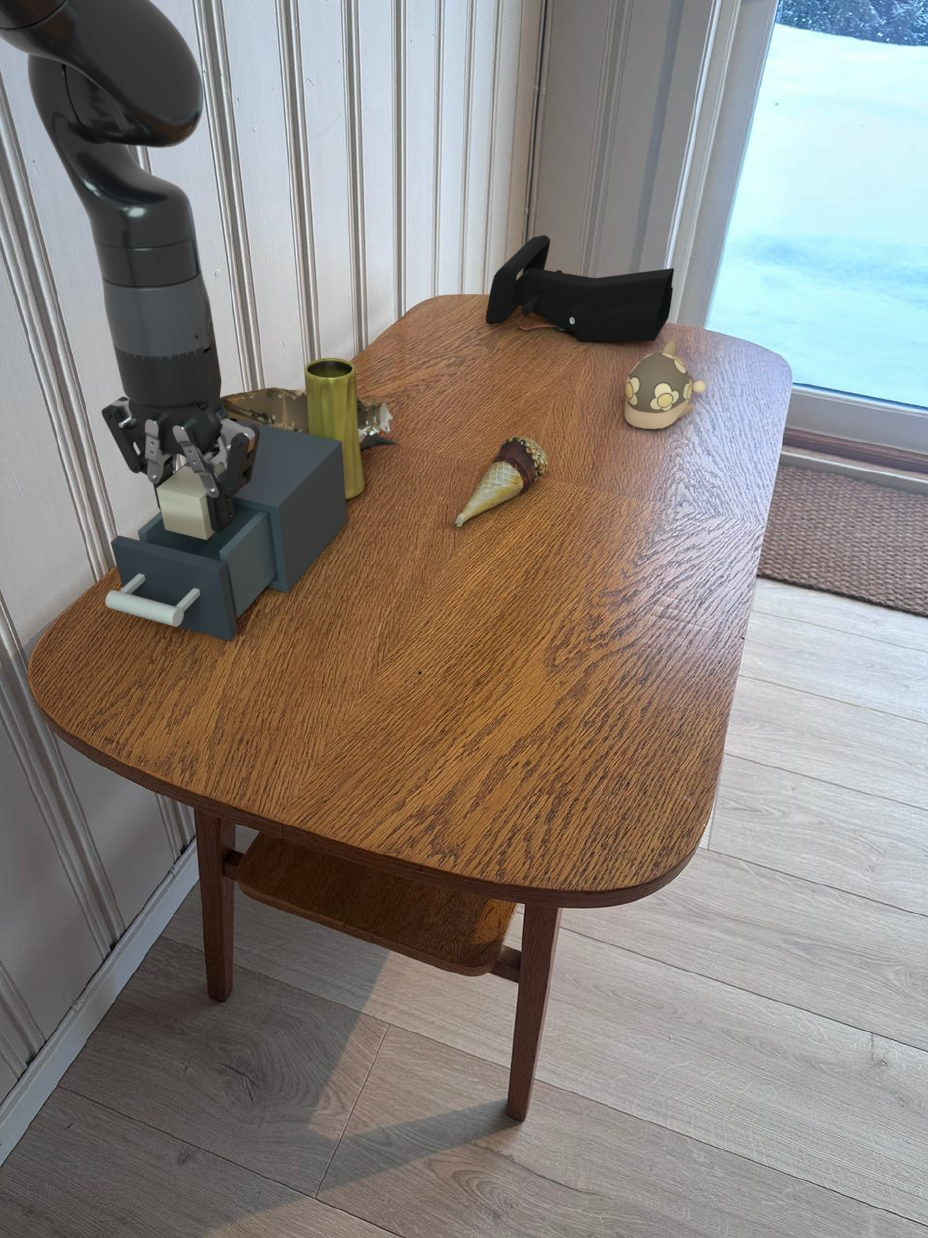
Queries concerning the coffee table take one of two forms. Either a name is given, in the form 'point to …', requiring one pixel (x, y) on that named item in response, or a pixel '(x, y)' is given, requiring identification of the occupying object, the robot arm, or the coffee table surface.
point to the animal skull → (303, 413)
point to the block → (185, 504)
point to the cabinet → (295, 496)
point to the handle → (581, 298)
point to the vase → (336, 413)
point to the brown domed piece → (659, 390)
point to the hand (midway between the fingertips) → (198, 520)
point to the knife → (537, 325)
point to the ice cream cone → (507, 476)
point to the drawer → (195, 573)
